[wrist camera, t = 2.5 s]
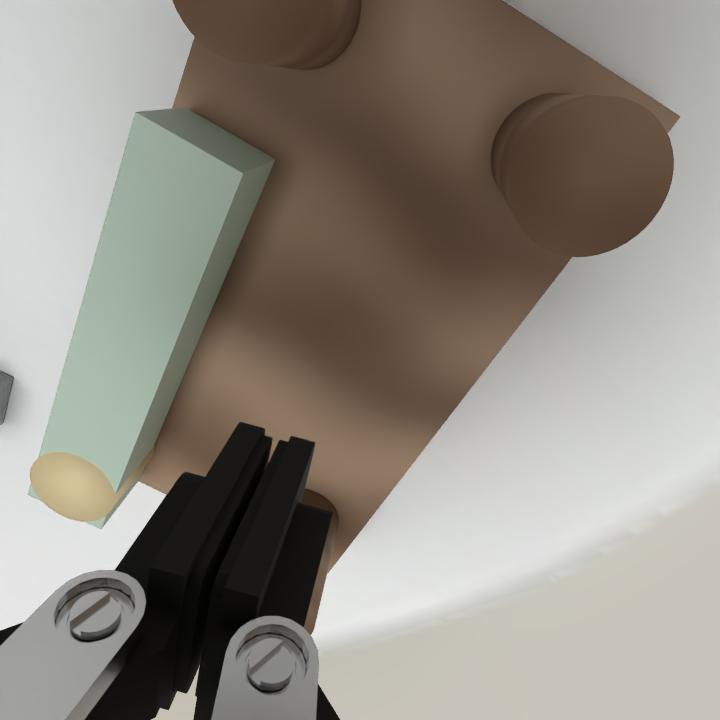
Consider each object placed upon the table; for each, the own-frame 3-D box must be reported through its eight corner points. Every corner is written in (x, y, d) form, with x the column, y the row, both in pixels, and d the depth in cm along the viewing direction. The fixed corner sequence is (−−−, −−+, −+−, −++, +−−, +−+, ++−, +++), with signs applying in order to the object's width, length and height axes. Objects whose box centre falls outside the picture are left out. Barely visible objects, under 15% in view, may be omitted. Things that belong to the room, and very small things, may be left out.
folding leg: (142, 479, 23) (101, 534, 20) (74, 446, 23) (22, 497, 20) (279, 160, 16) (245, 176, 14) (184, 105, 16) (129, 110, 13)
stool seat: (277, -130, 15) (162, -283, 9) (654, 113, 16) (784, 129, 10) (92, 420, 25) (-21, 530, 19) (335, 540, 26) (303, 678, 20)
